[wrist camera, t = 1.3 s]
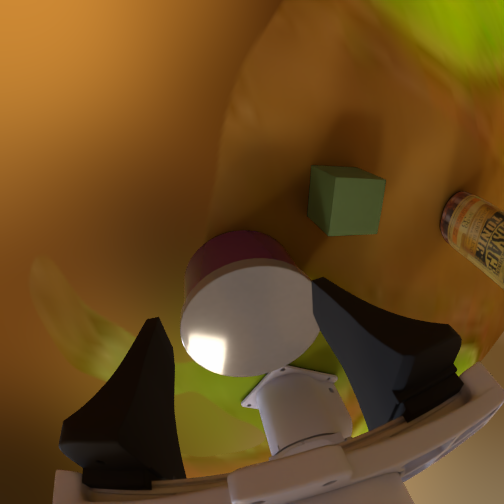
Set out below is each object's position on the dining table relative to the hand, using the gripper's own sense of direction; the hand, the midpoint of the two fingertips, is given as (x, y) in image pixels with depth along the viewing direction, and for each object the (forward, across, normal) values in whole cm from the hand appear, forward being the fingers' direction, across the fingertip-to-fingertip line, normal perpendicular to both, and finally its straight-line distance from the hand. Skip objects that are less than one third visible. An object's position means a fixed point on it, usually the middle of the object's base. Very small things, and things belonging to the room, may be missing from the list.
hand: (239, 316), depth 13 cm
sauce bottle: (+10, -24, +4) cm, 27 cm away
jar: (+10, -1, +4) cm, 11 cm away
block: (+10, -9, -2) cm, 13 cm away
